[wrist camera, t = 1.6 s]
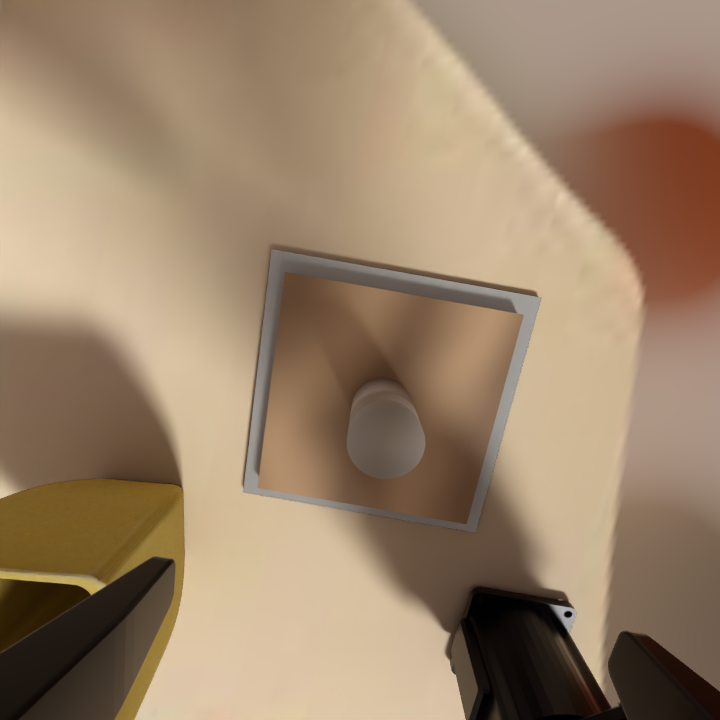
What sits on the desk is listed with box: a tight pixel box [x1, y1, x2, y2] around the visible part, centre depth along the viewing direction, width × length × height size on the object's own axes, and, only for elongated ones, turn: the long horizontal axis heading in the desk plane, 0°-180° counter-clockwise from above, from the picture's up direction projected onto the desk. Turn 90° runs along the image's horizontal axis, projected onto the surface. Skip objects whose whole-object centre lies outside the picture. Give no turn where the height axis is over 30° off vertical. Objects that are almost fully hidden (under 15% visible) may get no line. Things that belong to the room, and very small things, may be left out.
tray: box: [243, 249, 541, 533], centre depth 20 cm, size 14×14×1 cm
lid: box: [258, 272, 524, 524], centre depth 17 cm, size 12×12×5 cm
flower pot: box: [0, 479, 185, 720], centre depth 17 cm, size 9×9×9 cm
